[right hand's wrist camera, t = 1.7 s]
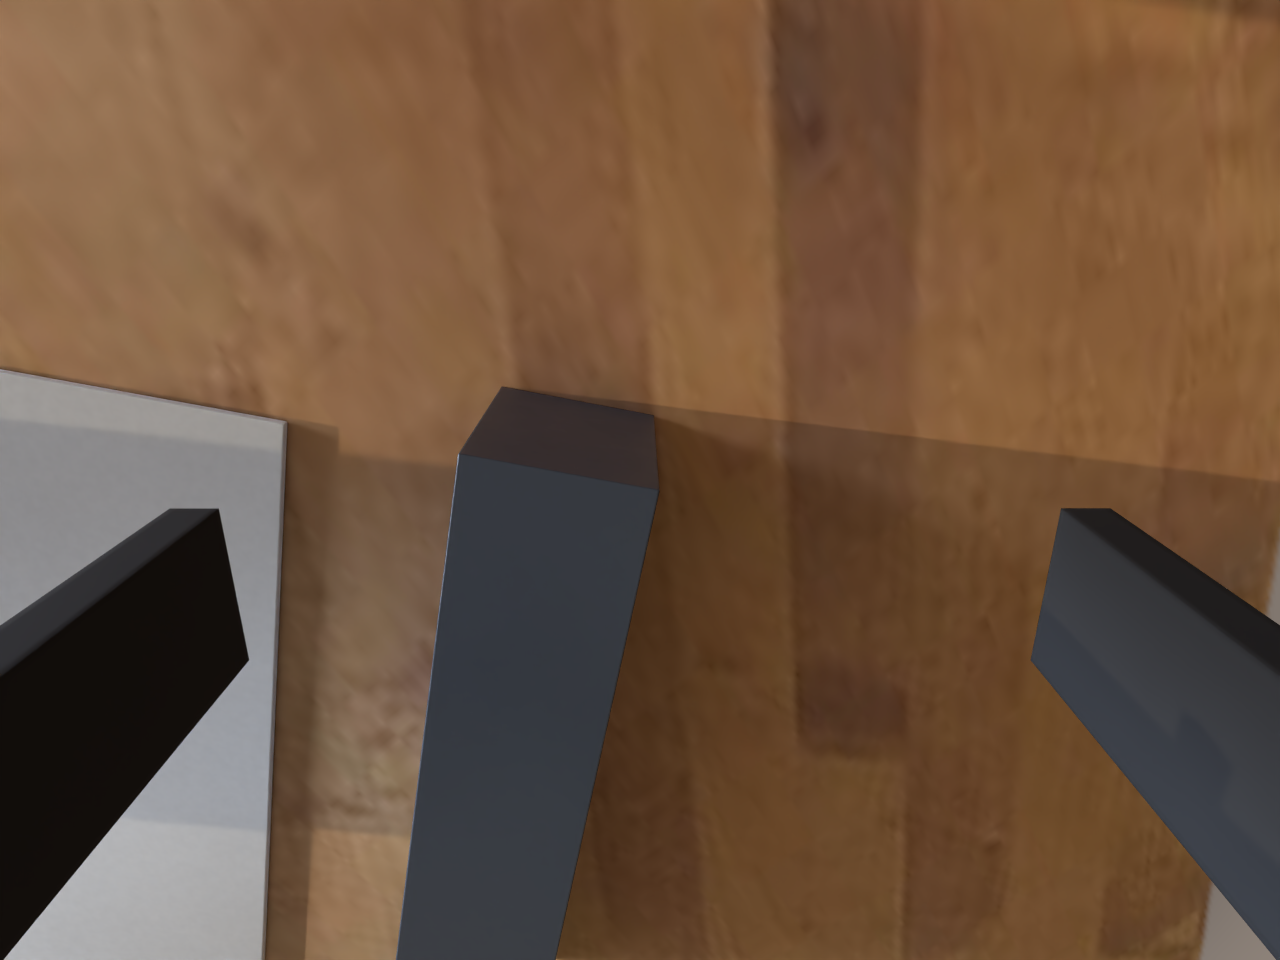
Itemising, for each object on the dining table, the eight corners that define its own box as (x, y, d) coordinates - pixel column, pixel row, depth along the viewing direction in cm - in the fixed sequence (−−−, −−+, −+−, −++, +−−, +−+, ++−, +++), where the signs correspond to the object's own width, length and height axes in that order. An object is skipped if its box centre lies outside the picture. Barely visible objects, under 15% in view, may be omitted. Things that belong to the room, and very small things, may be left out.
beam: (424, 942, 41) (376, 1112, 34) (501, 386, 31) (457, 453, 23) (539, 958, 41) (517, 1129, 34) (654, 415, 31) (659, 490, 24)
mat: (-4, 1006, 42) (-9, 1013, 42) (-88, 352, 30) (-97, 354, 30) (262, 1039, 44) (258, 1046, 43) (288, 420, 31) (283, 424, 31)
